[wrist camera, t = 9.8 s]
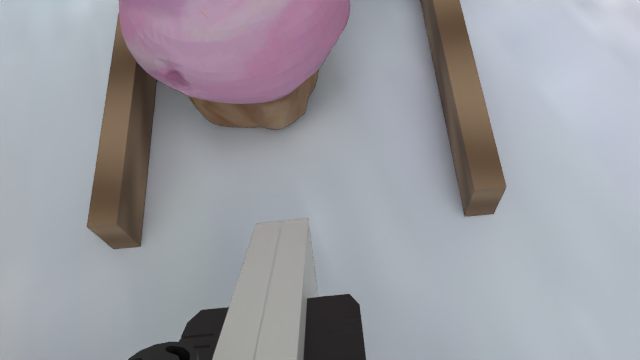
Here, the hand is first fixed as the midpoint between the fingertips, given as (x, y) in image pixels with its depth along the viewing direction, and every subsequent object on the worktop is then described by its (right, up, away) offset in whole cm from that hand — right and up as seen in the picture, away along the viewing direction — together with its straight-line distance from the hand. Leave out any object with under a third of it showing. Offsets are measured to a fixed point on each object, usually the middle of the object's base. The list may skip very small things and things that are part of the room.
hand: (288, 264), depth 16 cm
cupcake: (-2, +6, +11) cm, 13 cm away
